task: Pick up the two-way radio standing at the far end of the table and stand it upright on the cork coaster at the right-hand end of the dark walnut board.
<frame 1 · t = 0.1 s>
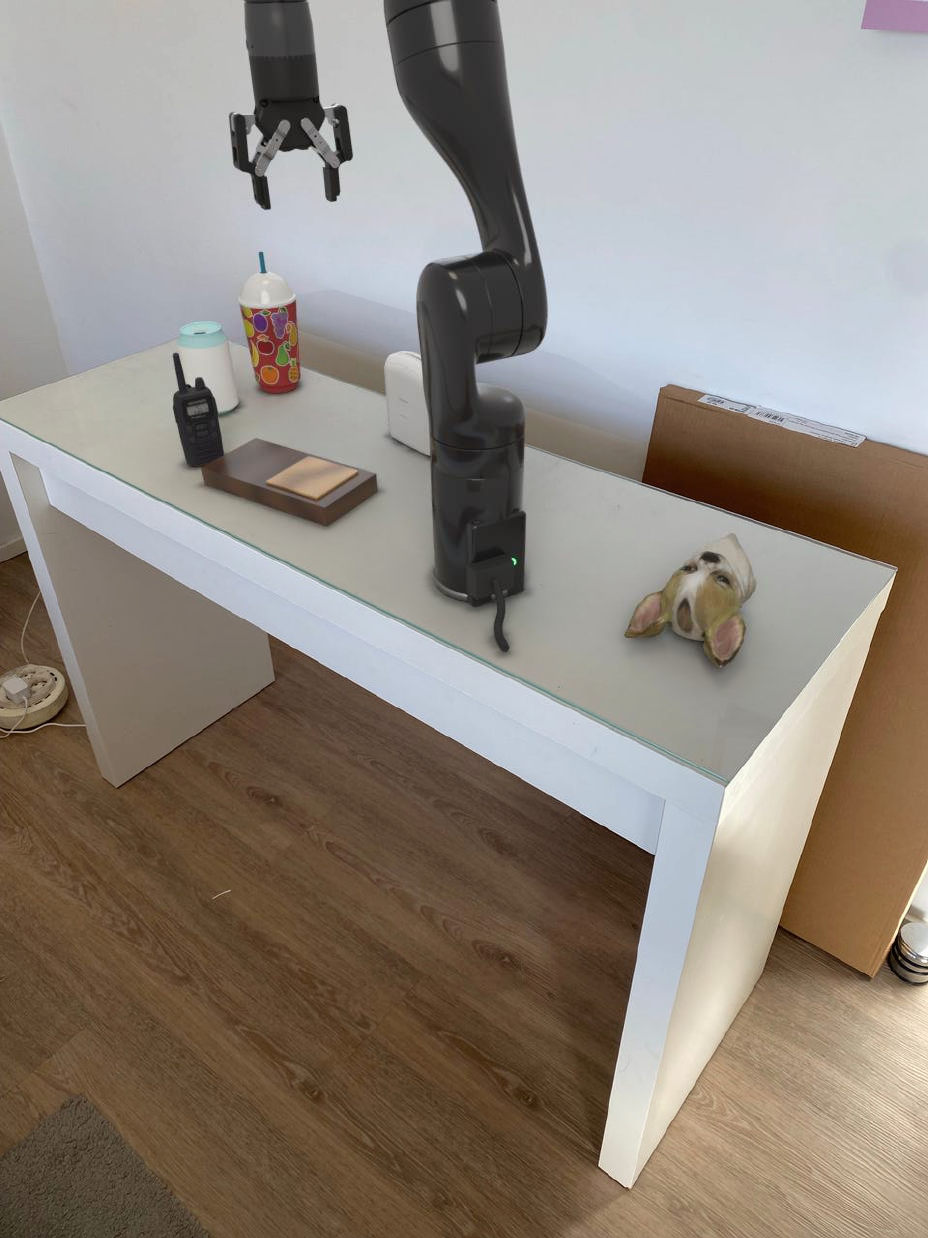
hand: (299, 204, 112), 29 cm above the table, tool pointing down, fingers open, 8 cm apart
photo printer: (419, 444, 124), on the table
can: (215, 408, 135), on the table
smoothie: (279, 387, 141), on the table
walnut board: (290, 488, 114), on the table
ceramic sculpture: (696, 630, 90), on the table
two-way radio: (204, 460, 121), on the table
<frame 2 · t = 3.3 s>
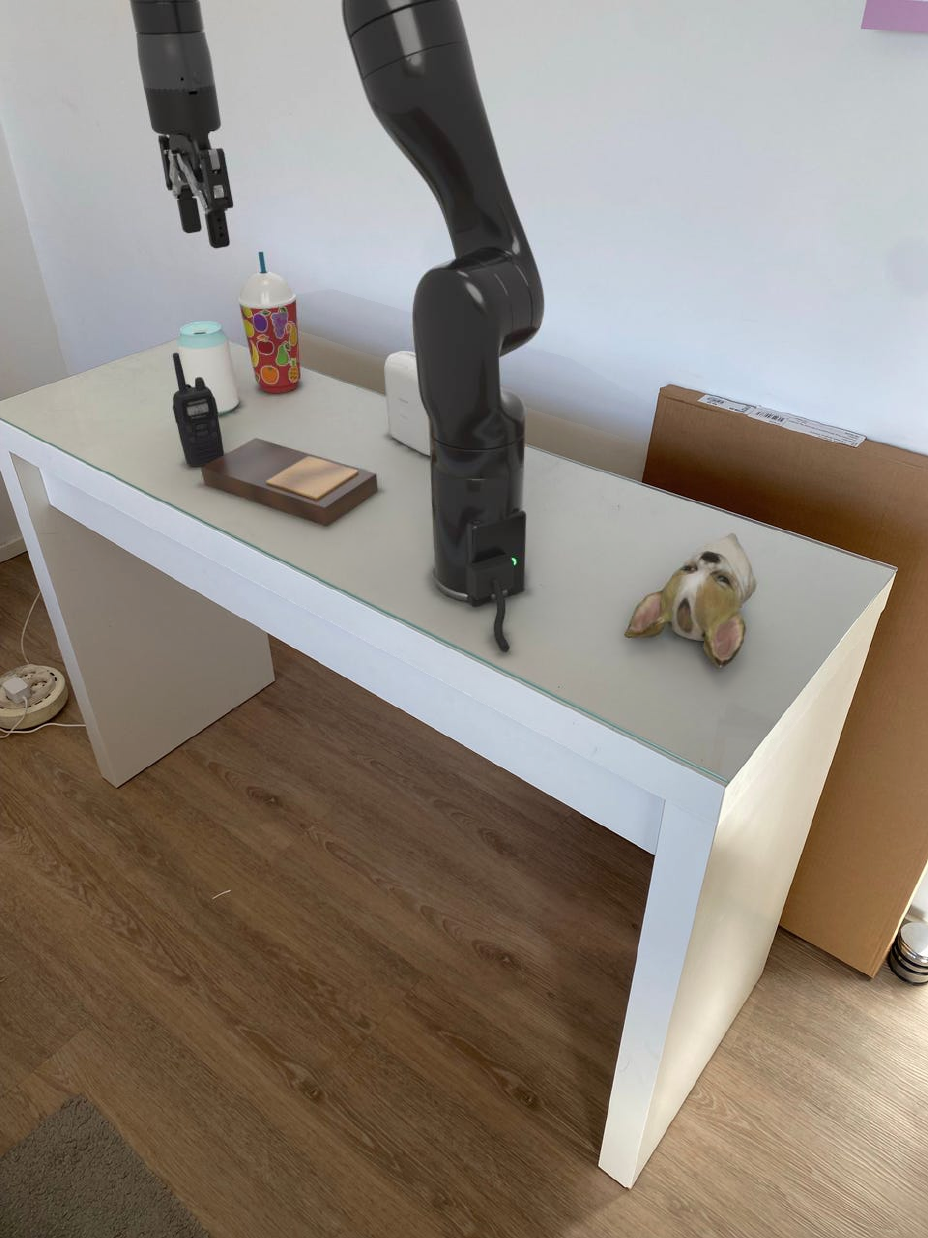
hand: (206, 239, 108), 27 cm above the table, tool pointing down, fingers open, 8 cm apart
nothing on the table moved.
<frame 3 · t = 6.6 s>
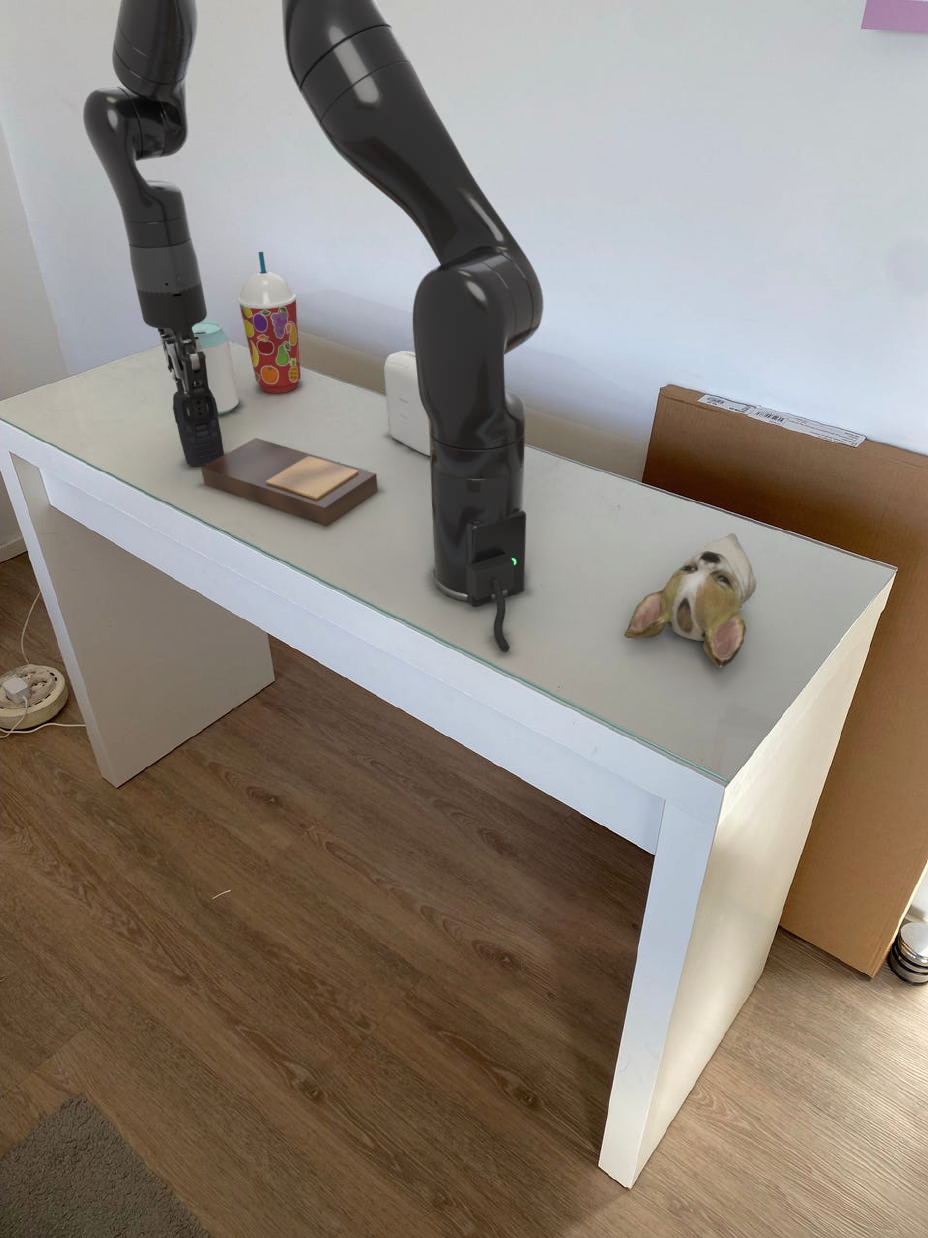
hand: (195, 414, 118), 6 cm above the table, tool pointing down, fingers closed on two-way radio, 4 cm apart
two-way radio: (204, 460, 121), on the table, touching gripper
everything else where it was.
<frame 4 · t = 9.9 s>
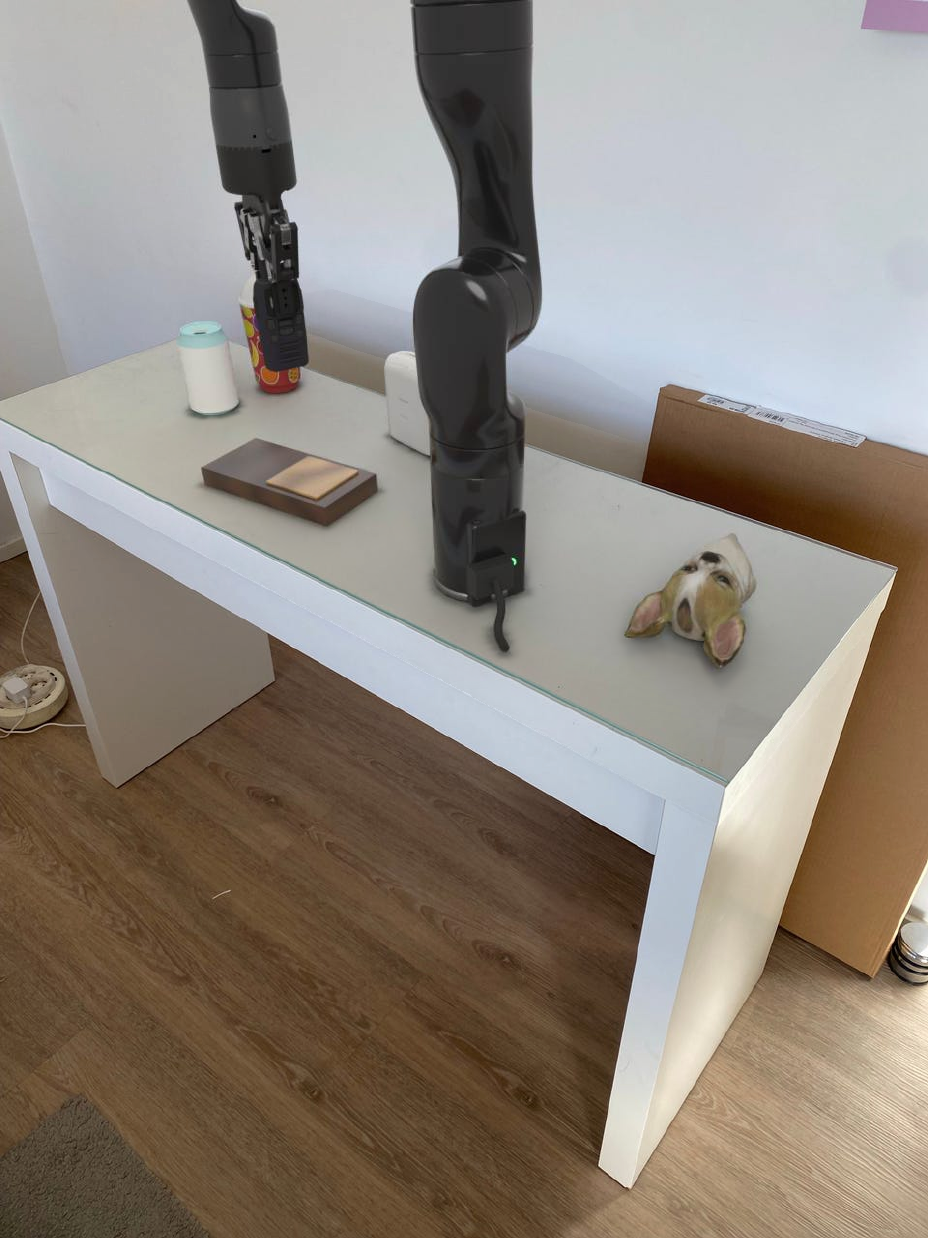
hand: (277, 309, 100), 23 cm above the table, tool pointing down, fingers closed on two-way radio, 4 cm apart
two-way radio: (285, 366, 104), point 16 cm above the table, touching gripper
everything else where it was.
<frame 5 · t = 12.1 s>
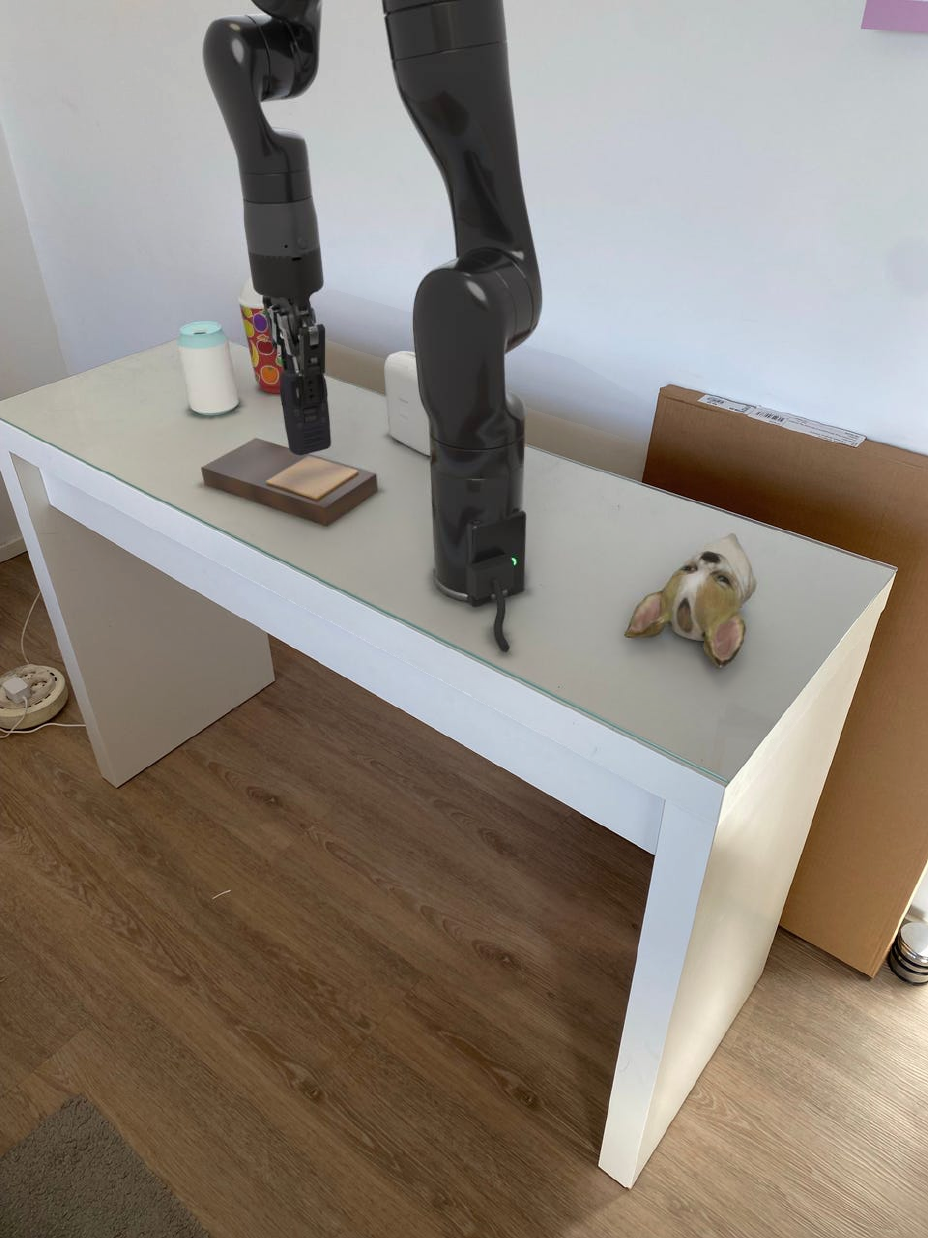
hand: (302, 397, 105), 13 cm above the table, tool pointing down, fingers closed on two-way radio, 4 cm apart
two-way radio: (308, 448, 109), point 6 cm above the table, touching gripper
everything else where it was.
when the fingers open (9 cm above the table, at t = 13.5 s): two-way radio stays where it is, resting on walnut board.
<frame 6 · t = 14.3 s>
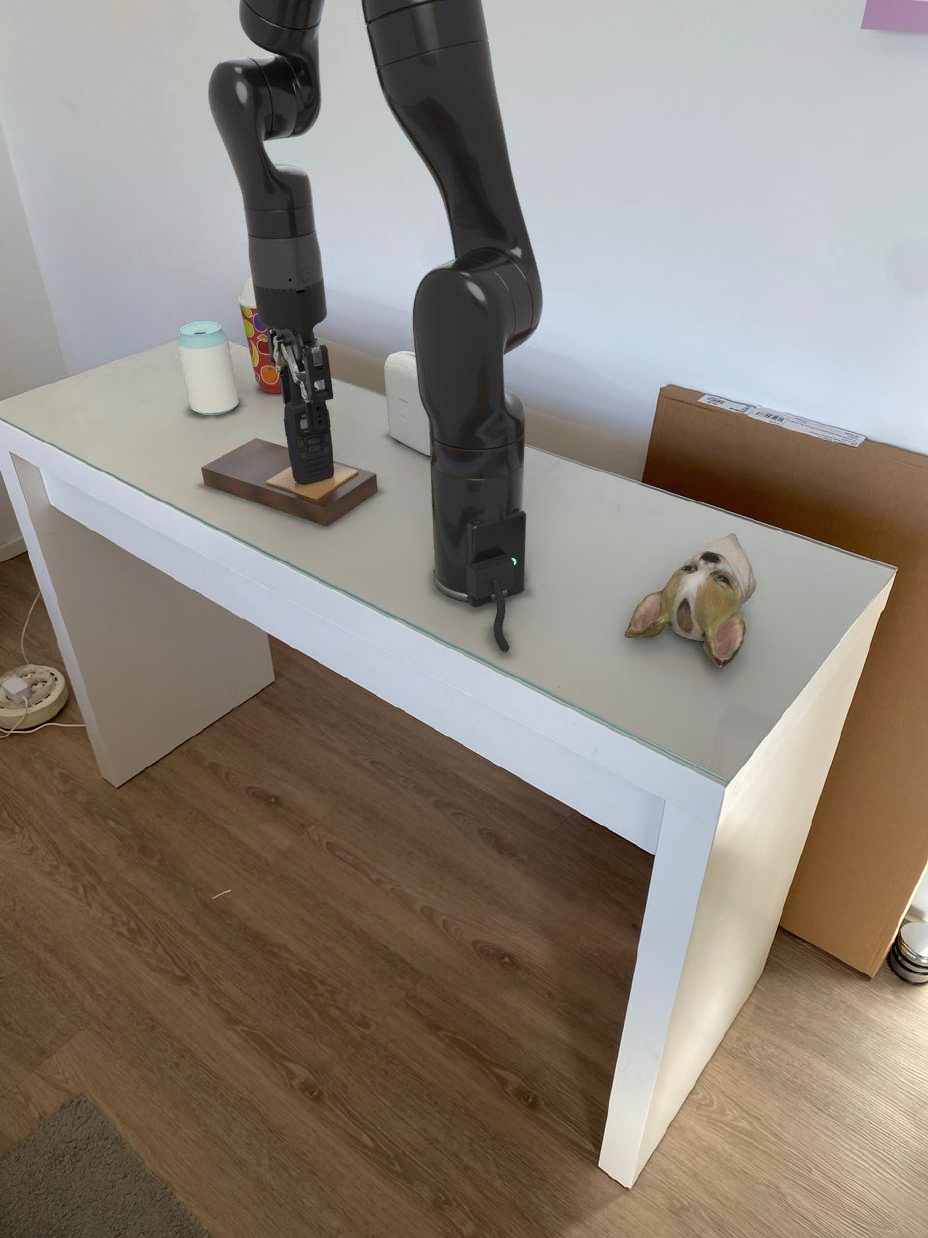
hand: (305, 417, 106), 10 cm above the table, tool pointing down, fingers open, 8 cm apart
two-way radio: (312, 477, 111), point 3 cm above the table, touching walnut board
everything else where it was.
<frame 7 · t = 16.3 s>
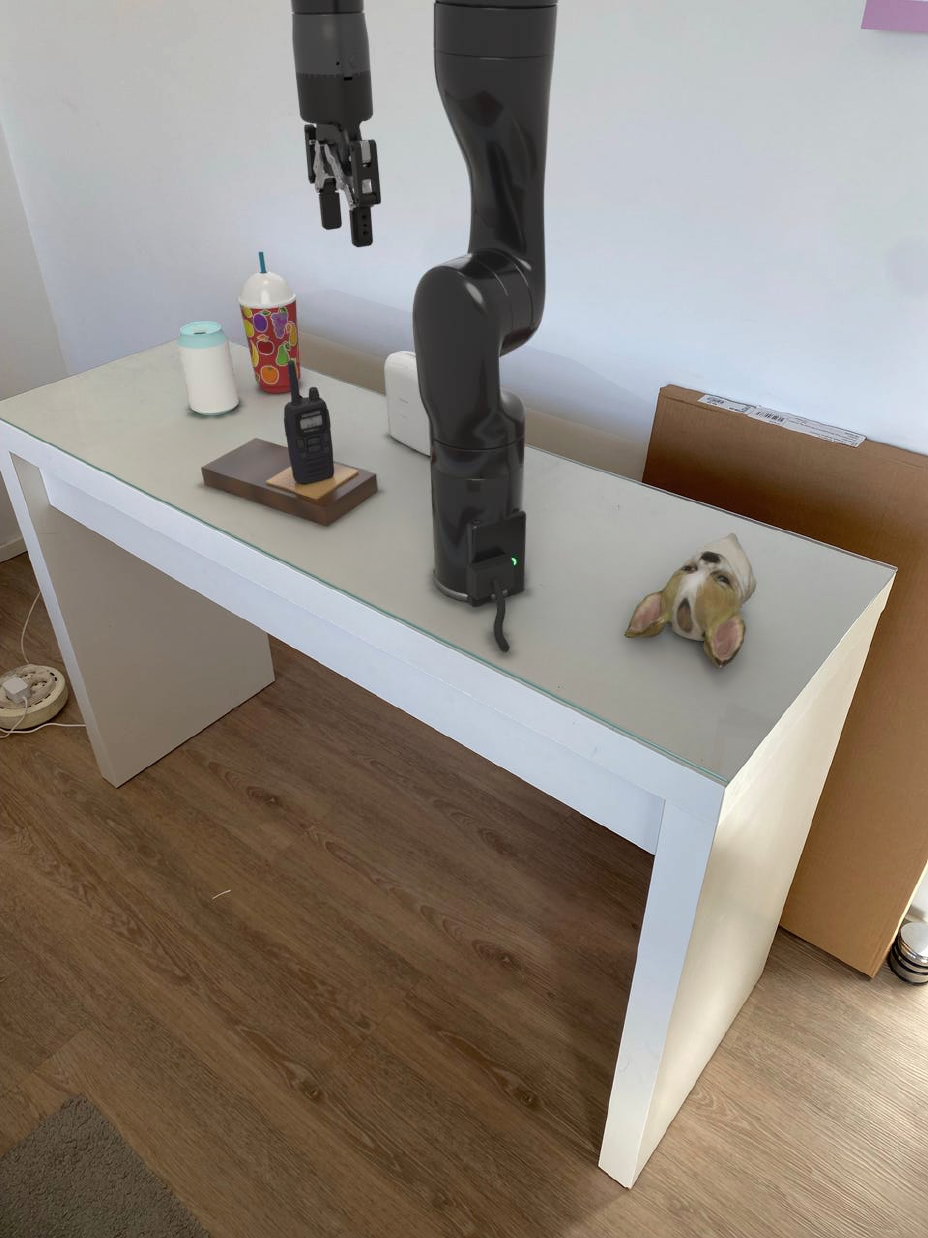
hand: (347, 236, 101), 29 cm above the table, tool pointing down, fingers open, 8 cm apart
nothing on the table moved.
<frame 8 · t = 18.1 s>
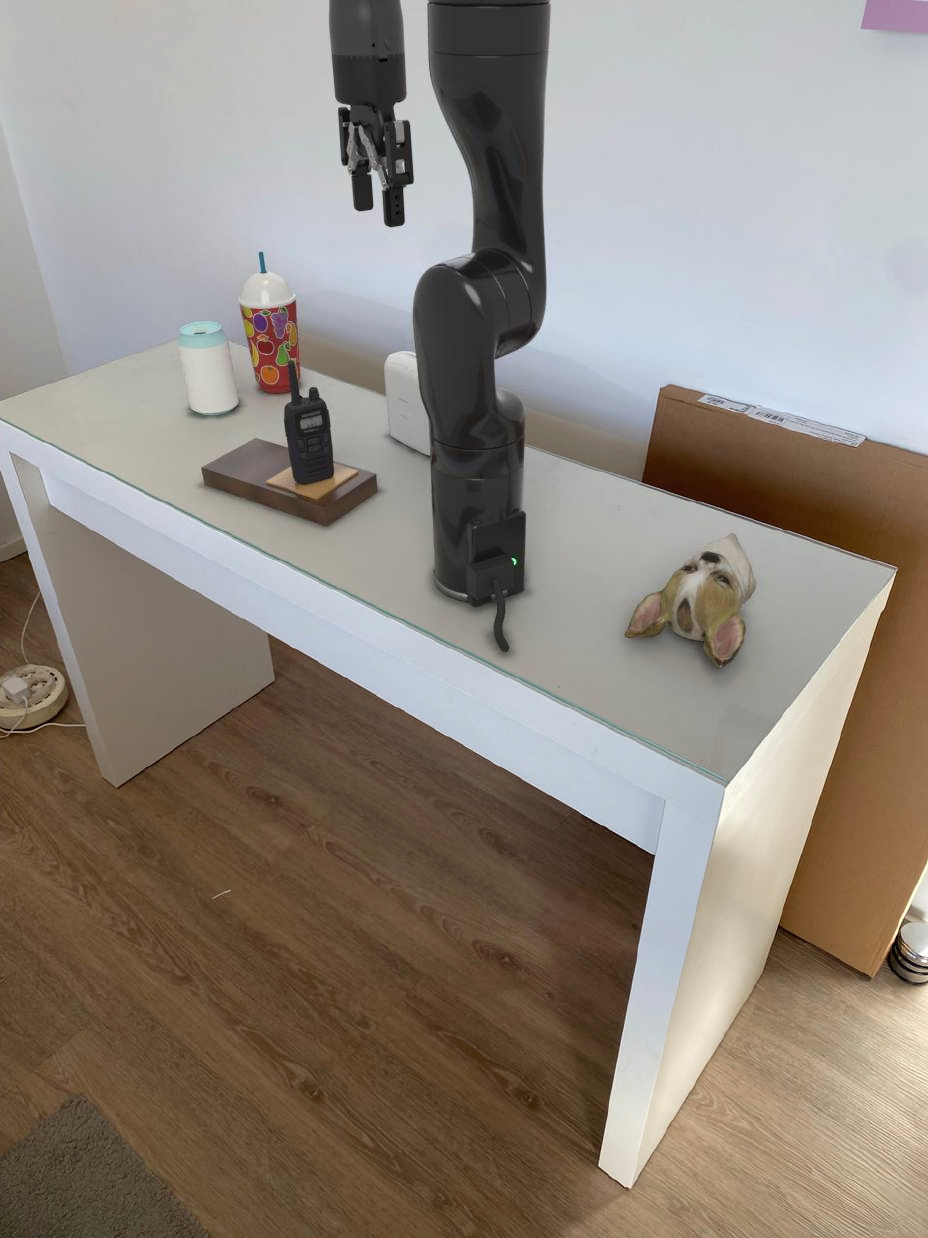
hand: (379, 217, 102), 30 cm above the table, tool pointing down, fingers open, 8 cm apart
nothing on the table moved.
at the end: two-way radio 0.1 cm from the target spot on the walnut board, point 2.6 cm above the walnut board's base; two-way radio tilted 0°; the gripper is holding nothing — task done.
